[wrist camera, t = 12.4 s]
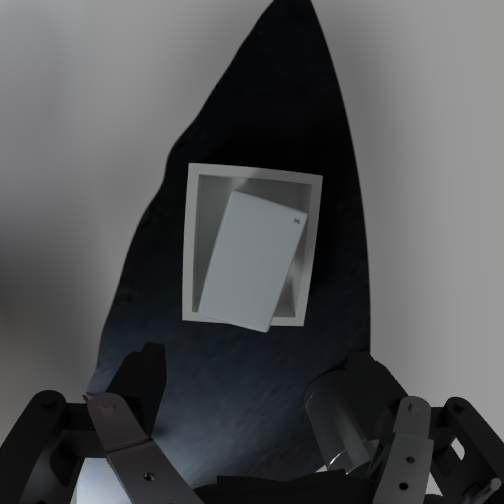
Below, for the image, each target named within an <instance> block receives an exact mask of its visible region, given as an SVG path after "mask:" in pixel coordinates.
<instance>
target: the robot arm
mask: <svg viewBox="0 0 504 504" xmlns="http://www.w3.org/2000/svg"><path fill="white" fill-rule="evenodd" d="M165 386H166V358H165V346H164V344H160V343H153V342H146V343H145V345H144V347H143V349H142V351H141V352H136V351H133V352H132V353H130V354H129V355H128V356H126V357H125V359H124V360H123V362H122V364H121V366H120V367H119V369H118V372H116V374H115V376H114V378H113V379H112V381H111V383H110V385H109V387H108V388H107V390H106V392H105V393H100V394H97V395H95V396H93V397H92V398H91V399H90V400H89V402H88V403H84V404H81V403H67V402H66V400H65V398H64V396H63V395H62V394H61V393H59V392H57V391H53V390H45V391H41V392H39V393H37V394H36V395H34V397H33V398H32V399H31V401H30V402H29V404H28V405H27V407H26V408H25V410H24V411H23V412H22V414H21V416H20V417H19V419H18V420H17V422H16V423H15V425H14V426H13V428H12V430H11V431H10V433H9V434H8V436H7V437H6V439H5V441H4V442H3V444H2V446H1V447H0V504H70V502H71V499H72V496H73V492H74V489H75V486H76V483H77V480H78V477H79V474H80V471H81V468H82V465H83V462H84V460H85V457H86V458H107V459H108V461H109V463H110V465H111V467H112V469H113V471H114V473H115V475H116V477H117V479H118V481H119V482H120V484H121V486H122V488H123V489H124V491H125V493H126V495H127V496H128V498H129V500H130V502H131V503H132V504H504V443H503V442H502V441H501V439H500V438H499V437H498V435H497V434H496V433H495V432H494V431H493V429H492V428H491V427H490V426H489V425H488V424H487V422H486V421H485V420H484V419H483V418H482V416H481V415H480V414H479V413H478V412H477V411H476V410H475V408H474V407H473V406H472V405H471V404H470V403H469V402H468V401H467V400H465V399H463V398H460V397H451V398H449V399H448V400H447V402H446V403H445V405H444V407H430V405H429V403H428V402H427V401H425V400H424V399H422V398H420V397H416V396H408V394H407V393H406V392H405V390H404V389H403V388H402V387H401V385H400V384H399V383H398V382H397V380H395V378H394V377H393V375H391V373H390V372H389V370H388V369H387V368H386V367H385V366H384V365H382V364H381V363H379V362H378V361H375V360H374V359H373V357H371V355H370V354H369V353H368V352H367V351H364V352H351V353H350V355H349V357H348V360H347V364H346V367H345V370H336V371H332V372H329V373H326V374H324V375H322V376H320V377H318V378H317V379H316V380H315V381H313V382H312V383H311V384H310V385H309V387H308V388H307V390H306V392H305V395H304V403H305V406H306V410H307V413H308V415H309V418H310V421H311V424H312V427H313V430H314V433H315V436H316V439H317V441H318V444H319V447H320V450H321V453H322V456H323V459H324V462H325V464H326V467H327V470H328V471H324V472H316V473H313V474H310V475H307V476H304V477H301V478H297V479H294V480H290V481H286V482H281V481H274V480H267V479H261V478H255V477H243V476H217V483H216V484H209V485H205V486H201V487H198V488H195V489H193V490H192V489H191V488H190V487H189V485H188V484H187V483H186V482H185V481H184V479H183V478H182V477H181V476H180V474H179V473H178V472H177V470H176V469H175V468H174V467H173V465H172V464H171V463H170V461H169V460H168V459H167V457H166V456H165V455H164V453H163V452H162V450H161V449H160V448H159V446H158V445H157V443H156V442H155V441H154V440H153V439H152V438H150V437H151V434H152V430H153V427H154V423H155V420H156V416H157V413H158V409H159V406H160V403H161V399H162V396H163V393H164V389H165ZM455 438H457V439H458V441H459V442H460V443H461V445H462V446H463V447H464V451H465V454H464V457H463V459H462V460H460V458H459V457H458V455H457V454H456V452H455V451H454V449H453V448H452V446H451V444H452V442H453V441H454V439H455ZM429 472H430V473H431V474H432V476H433V478H434V480H435V482H436V484H437V485H438V487H439V489H440V491H441V493H442V495H443V496H441V495H435V494H425V492H426V488H427V483H428V477H429Z"/></svg>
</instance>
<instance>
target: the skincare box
mask: <svg viewBox="0 0 504 504" xmlns="http://www.w3.org/2000/svg"><path fill="white" fill-rule="evenodd" d="M307 218H308V214H307V213H305V212H302V211H299V210H297V209H294V208H291V207H288V206H286V205H283V204H280V203H277V202H274V201H271V200H268V199H265V198H262V197H258V196H255V195H251V194H248V193H244V192H240V191H236V190H234V191H232V193H231V195H230V197H229V199H228V202H227V205H226V208H225V211H224V214H223V217H222V220H221V224H220V227H219V231H218V234H217V238H216V241H215V245H214V248H213V252H212V256H211V259H210V263H209V267H208V271H207V274H206V278H205V282H204V287H203V291H202V295H201V300H200V305H199V310H198V314H199V315H201V316H204V317H208V318H211V319H215V320H218V321H222V322H226V323H229V324H233V325H237V326H241V327H245V328H249V329H253V330H257V331H261V332H267V331H268V330H269V327H270V324H271V321H272V319H273V316H274V313H275V310H276V307H277V305H278V302H279V299H280V296H281V293H282V291H283V288H284V285H285V282H286V279H287V276H288V273H289V271H290V268H291V265H292V262H293V259H294V256H295V253H296V250H297V248H298V245H299V242H300V239H301V236H302V233H303V230H304V227H305V224H306V221H307Z"/></svg>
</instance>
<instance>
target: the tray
mask: <svg viewBox="0 0 504 504" xmlns="http://www.w3.org/2000/svg"><path fill="white" fill-rule="evenodd" d="M322 178H323V176H321V175H314V174H306V173H299V172H291V171H282V170H273V169H264V168H253V167H242V166H229V165H214V164H196V163H189V172H188V184H187V198H186V213H185V231H184V256H183V320H191V321H203V322H217V323H226V322H222V321H218V320H215V319H211V318H208V317H204V316H201V315H199V314H198V310H199V305H200V300H201V295H202V291H203V287H204V282H205V278H206V274H207V271H208V267H209V263H210V259H211V256H212V252H213V248H214V245H215V241H216V238H217V234H218V231H219V227H220V224H221V220H222V217H223V214H224V211H225V208H226V205H227V202H228V199H229V197H230V195H231V193H232V191H234V190H236V191H240V192H244V193H248V194H251V195H255V196H258V197H262V198H265V199H268V200H271V201H274V202H277V203H280V204H283V205H286V206H288V207H291V208H294V209H297V210H299V211H302V212H305V213H307V214H308V218H307V221H306V224H305V227H304V230H303V233H302V236H301V239H300V242H299V245H298V248H297V250H296V253H295V256H294V259H293V262H292V265H291V268H290V271H289V273H288V276H287V279H286V282H285V285H284V288H283V291H282V293H281V296H280V299H279V302H278V305H277V307H276V310H275V313H274V316H273V319H272V321H271V324H270V325H281V326H303V323H304V317H305V311H306V305H307V299H308V293H309V286H310V280H311V273H312V266H313V258H314V251H315V243H316V235H317V227H318V218H319V209H320V199H321V189H322Z"/></svg>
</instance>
